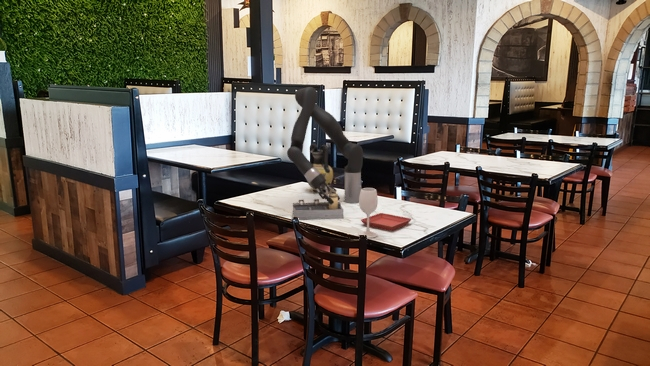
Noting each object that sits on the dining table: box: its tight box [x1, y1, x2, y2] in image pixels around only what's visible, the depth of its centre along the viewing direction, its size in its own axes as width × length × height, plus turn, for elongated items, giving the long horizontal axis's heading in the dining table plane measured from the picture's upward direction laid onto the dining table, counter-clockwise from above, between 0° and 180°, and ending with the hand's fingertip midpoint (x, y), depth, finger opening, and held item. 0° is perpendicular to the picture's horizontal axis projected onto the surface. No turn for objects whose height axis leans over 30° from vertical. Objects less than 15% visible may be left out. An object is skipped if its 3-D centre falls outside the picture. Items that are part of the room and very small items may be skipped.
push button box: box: [292, 198, 345, 221], centre depth 256 cm, size 25×13×7 cm, turn 97°
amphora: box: [306, 143, 334, 194], centre depth 310 cm, size 18×17×30 cm
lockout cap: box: [328, 192, 339, 209], centre depth 255 cm, size 4×4×10 cm
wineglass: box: [357, 187, 378, 239], centre depth 222 cm, size 9×9×21 cm
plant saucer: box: [360, 212, 412, 232], centre depth 240 cm, size 18×18×3 cm
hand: (335, 201), depth 254 cm, fingers open, 8 cm apart
